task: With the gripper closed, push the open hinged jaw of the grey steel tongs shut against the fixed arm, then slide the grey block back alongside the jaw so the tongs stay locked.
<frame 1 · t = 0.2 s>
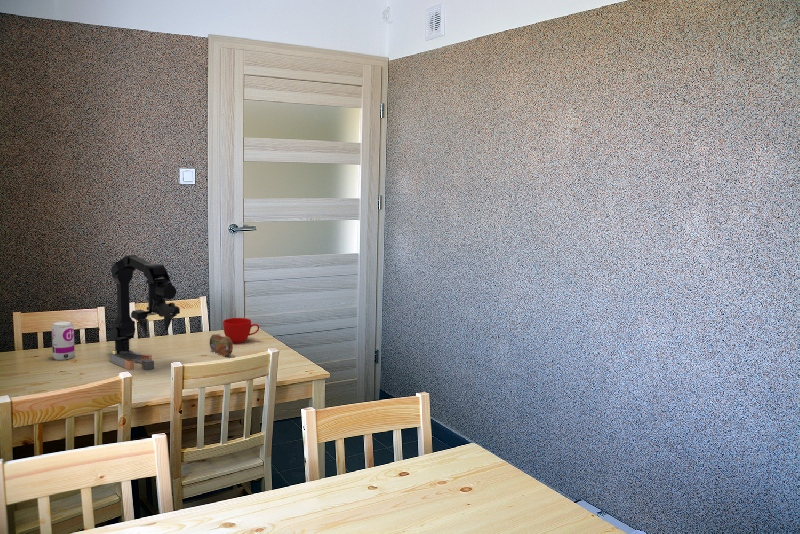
hand: (156, 332, 276), 14 cm above the table, tool pointing down, fingers open, 9 cm apart
tongs jaw: (135, 357, 282), point 2 cm above the table, hinge at 25.0°
tongs fixed arm: (113, 360, 283), on the table
grey block: (147, 364, 273), point 2 cm above the table, slide at 0.0 cm
supplement can: (63, 358, 284), on the table
ceramic cup: (241, 342, 320), on the table
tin: (221, 354, 298), on the table
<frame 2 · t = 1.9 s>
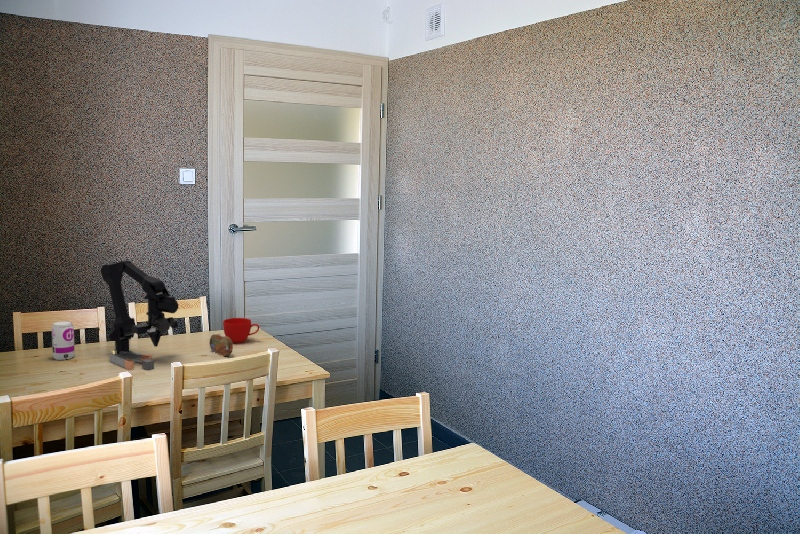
hand: (155, 346, 285), 6 cm above the table, tool pointing down, fingers closed
nothing on the table moved.
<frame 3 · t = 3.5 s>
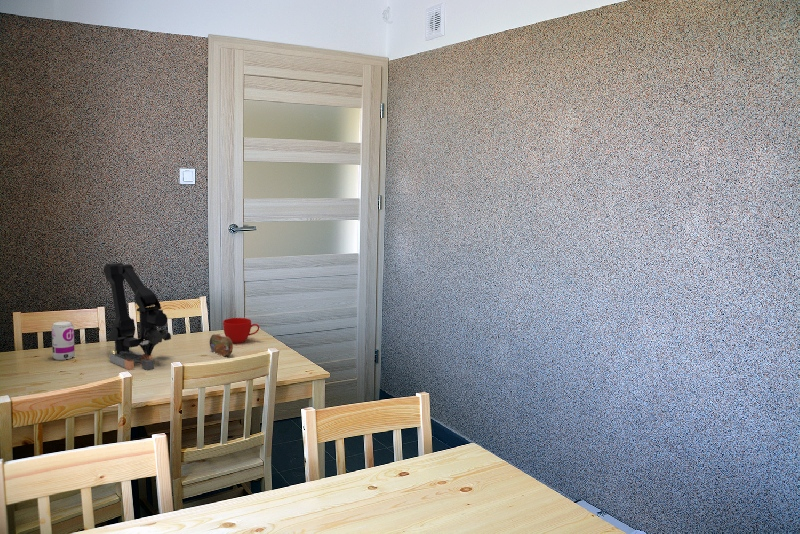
hand: (148, 359, 283), 1 cm above the table, tool pointing down, fingers closed
tongs jaw: (135, 357, 282), point 2 cm above the table, hinge at 24.7°, touching gripper
everything else where it was.
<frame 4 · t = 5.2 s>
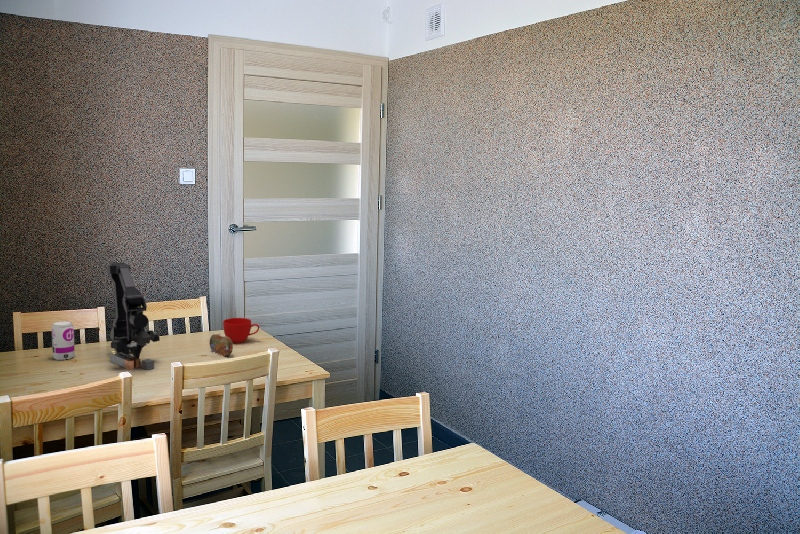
hand: (137, 361, 278), 1 cm above the table, tool pointing down, fingers closed
tongs jaw: (128, 359, 278), point 2 cm above the table, hinge at 1.6°, touching gripper
everything else where it was.
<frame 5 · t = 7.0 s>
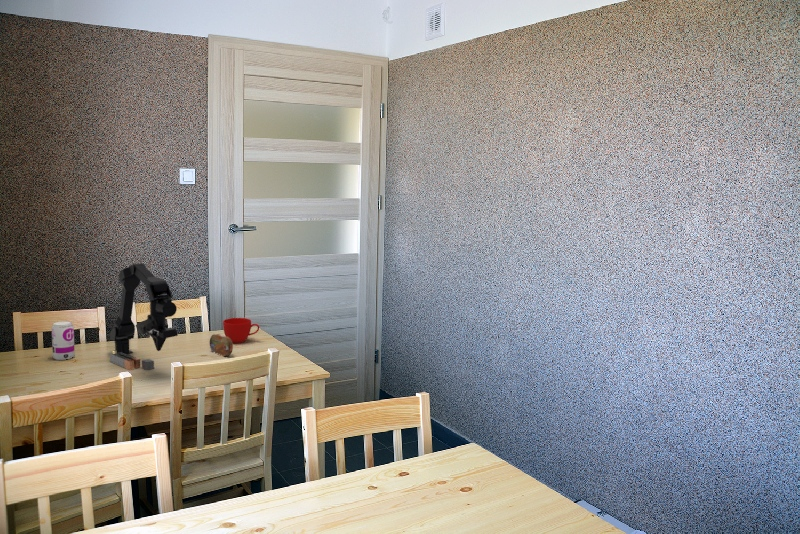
hand: (158, 350, 268), 9 cm above the table, tool pointing down, fingers closed
tongs jaw: (128, 359, 278), point 2 cm above the table, hinge at 1.4°
everything else where it was.
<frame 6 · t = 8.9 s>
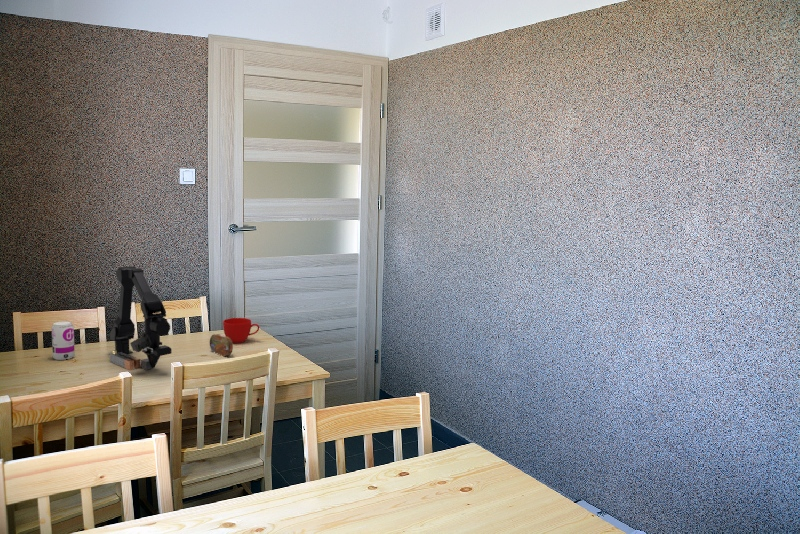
hand: (152, 367, 272), 1 cm above the table, tool pointing down, fingers closed
grey block: (146, 364, 274), point 2 cm above the table, slide at 0.8 cm, touching gripper
everything else where it was.
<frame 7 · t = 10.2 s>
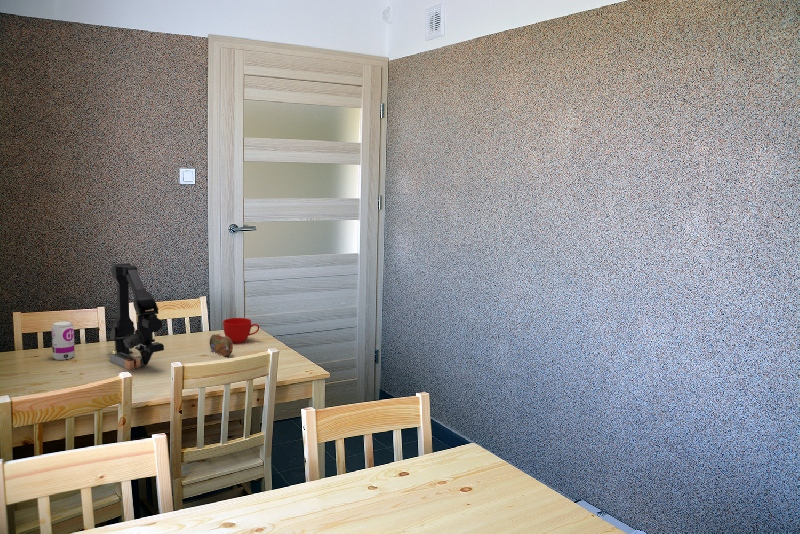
hand: (145, 364, 276), 1 cm above the table, tool pointing down, fingers closed
grey block: (140, 361, 277), point 2 cm above the table, slide at 6.0 cm, touching gripper
everything else where it was.
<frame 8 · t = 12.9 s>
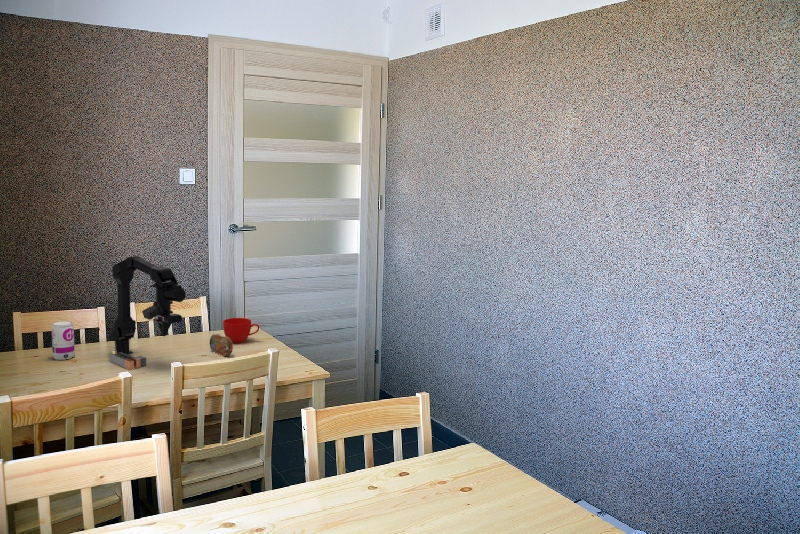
hand: (163, 336, 279), 12 cm above the table, tool pointing down, fingers closed
grey block: (140, 361, 277), point 2 cm above the table, slide at 6.0 cm
everything else where it was.
at the end: tongs jaw at +1° (first picture: +25°); grey block slide at 6.0 cm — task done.
